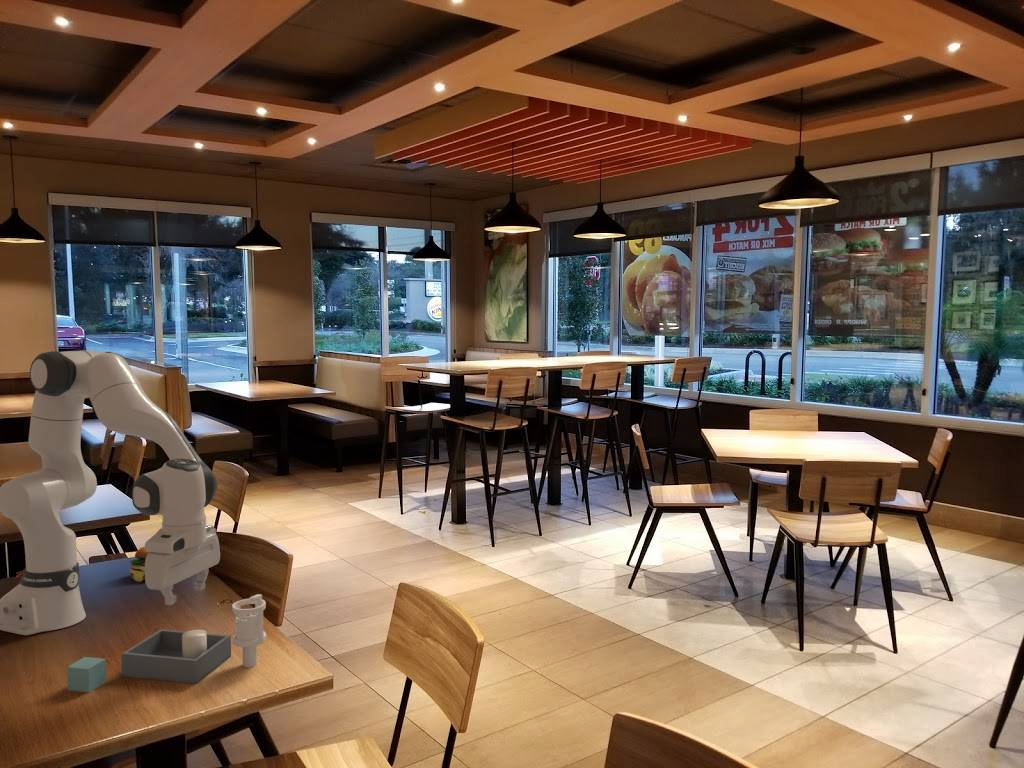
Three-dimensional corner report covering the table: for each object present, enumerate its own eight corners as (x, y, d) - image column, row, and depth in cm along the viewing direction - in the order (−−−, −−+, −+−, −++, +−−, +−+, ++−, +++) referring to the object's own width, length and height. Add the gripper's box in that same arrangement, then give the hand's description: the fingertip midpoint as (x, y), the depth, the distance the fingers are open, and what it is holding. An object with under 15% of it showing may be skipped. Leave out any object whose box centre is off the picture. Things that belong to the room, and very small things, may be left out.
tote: (122, 676, 165) (121, 653, 165) (161, 650, 179) (160, 629, 178) (196, 683, 162) (196, 660, 162) (231, 656, 176) (230, 635, 175)
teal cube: (67, 690, 159) (67, 667, 158) (85, 679, 164) (84, 656, 163) (89, 692, 158) (88, 669, 158) (106, 681, 163) (105, 659, 162)
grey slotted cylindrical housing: (273, 661, 173) (272, 596, 172) (250, 673, 167) (249, 606, 166) (249, 655, 176) (248, 591, 175) (226, 667, 170) (225, 601, 169)
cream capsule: (177, 668, 168) (177, 637, 167) (191, 659, 173) (190, 628, 172) (198, 670, 167) (198, 639, 166) (211, 660, 172) (211, 630, 171)
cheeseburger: (119, 581, 225) (123, 546, 227) (142, 578, 236) (146, 545, 237) (151, 583, 224) (155, 548, 225) (172, 580, 234) (176, 546, 236)
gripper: (203, 521, 178) (203, 580, 179) (138, 545, 158) (140, 611, 159) (226, 523, 176) (227, 582, 177) (164, 548, 156) (165, 614, 157)
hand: (185, 596), depth 168 cm, fingers open, 8 cm apart
